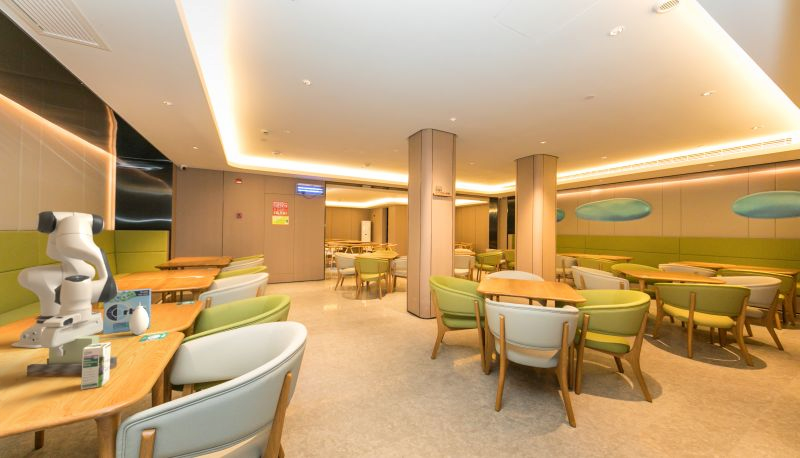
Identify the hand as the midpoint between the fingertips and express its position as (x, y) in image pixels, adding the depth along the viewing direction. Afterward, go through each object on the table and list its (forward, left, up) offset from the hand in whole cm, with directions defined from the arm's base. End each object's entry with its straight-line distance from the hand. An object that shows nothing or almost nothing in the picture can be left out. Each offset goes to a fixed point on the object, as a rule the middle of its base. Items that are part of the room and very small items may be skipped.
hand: (74, 350), depth 116 cm
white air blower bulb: (-10, +43, -8) cm, 45 cm away
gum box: (-22, +50, -8) cm, 55 cm away
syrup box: (+19, -11, -8) cm, 23 cm away
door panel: (0, 0, -7) cm, 7 cm away
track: (0, 0, -8) cm, 8 cm away
